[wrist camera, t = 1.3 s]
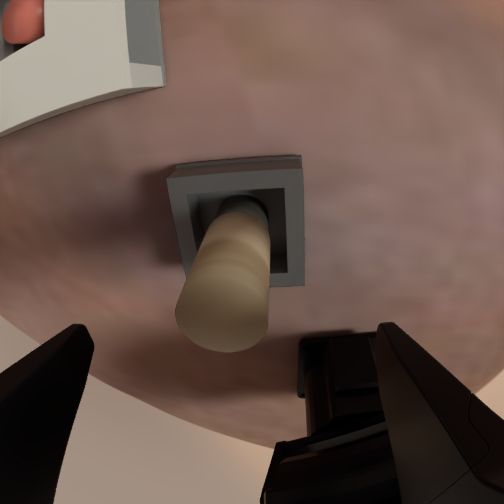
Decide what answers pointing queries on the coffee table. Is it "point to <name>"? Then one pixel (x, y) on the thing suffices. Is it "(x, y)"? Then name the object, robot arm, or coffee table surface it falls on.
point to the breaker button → (23, 21)
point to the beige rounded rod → (229, 280)
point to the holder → (243, 183)
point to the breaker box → (80, 59)
